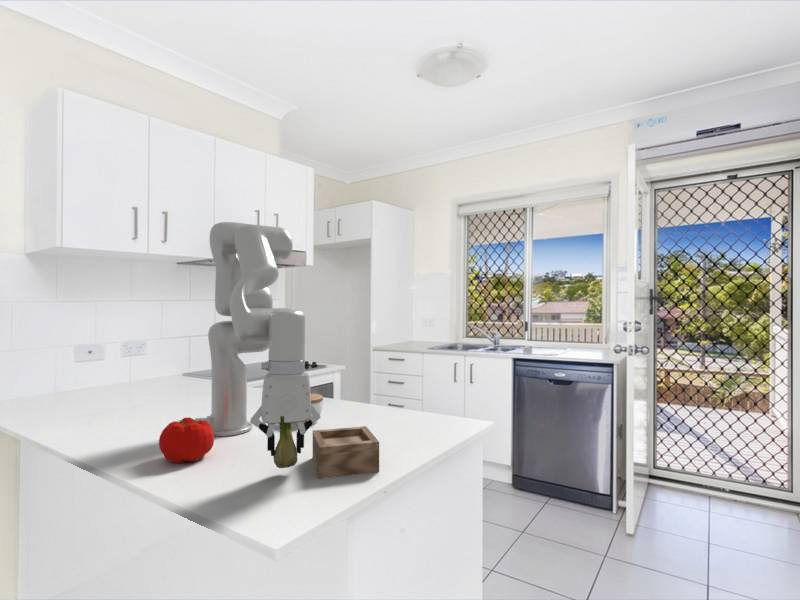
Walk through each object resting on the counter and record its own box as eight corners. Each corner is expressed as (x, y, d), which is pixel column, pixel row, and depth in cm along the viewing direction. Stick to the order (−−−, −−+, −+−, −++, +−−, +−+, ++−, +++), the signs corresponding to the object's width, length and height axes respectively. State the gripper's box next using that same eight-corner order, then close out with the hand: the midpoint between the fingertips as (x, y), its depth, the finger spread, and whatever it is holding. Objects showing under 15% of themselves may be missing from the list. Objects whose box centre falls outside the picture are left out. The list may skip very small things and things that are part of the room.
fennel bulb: (284, 473, 92) (283, 415, 92) (266, 468, 94) (266, 412, 94) (303, 463, 97) (303, 408, 97) (286, 459, 100) (286, 406, 99)
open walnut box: (319, 478, 94) (319, 447, 94) (312, 457, 106) (312, 430, 106) (379, 471, 98) (379, 441, 98) (365, 452, 110) (365, 426, 110)
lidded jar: (326, 424, 136) (326, 393, 136) (290, 428, 132) (290, 396, 132) (319, 416, 146) (319, 387, 146) (285, 419, 142) (285, 389, 142)
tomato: (211, 463, 102) (211, 424, 103) (153, 469, 99) (153, 428, 99) (216, 449, 113) (216, 413, 113) (163, 453, 109) (164, 416, 109)
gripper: (244, 372, 90) (243, 462, 90) (328, 369, 95) (327, 454, 95) (245, 366, 97) (244, 450, 97) (324, 363, 102) (323, 443, 102)
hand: (285, 451), depth 96 cm, fingers closed on fennel bulb, 4 cm apart
